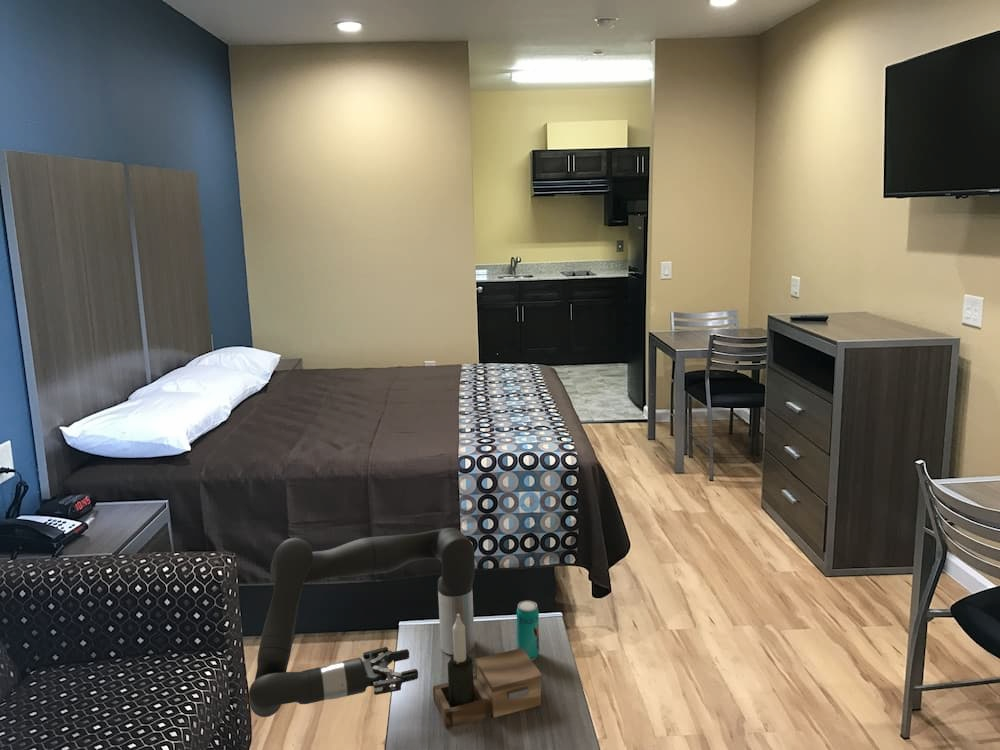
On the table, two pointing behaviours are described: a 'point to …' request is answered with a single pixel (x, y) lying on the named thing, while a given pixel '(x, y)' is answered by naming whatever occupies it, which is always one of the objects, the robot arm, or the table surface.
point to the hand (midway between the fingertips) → (413, 663)
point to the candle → (460, 669)
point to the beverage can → (528, 628)
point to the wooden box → (494, 689)
